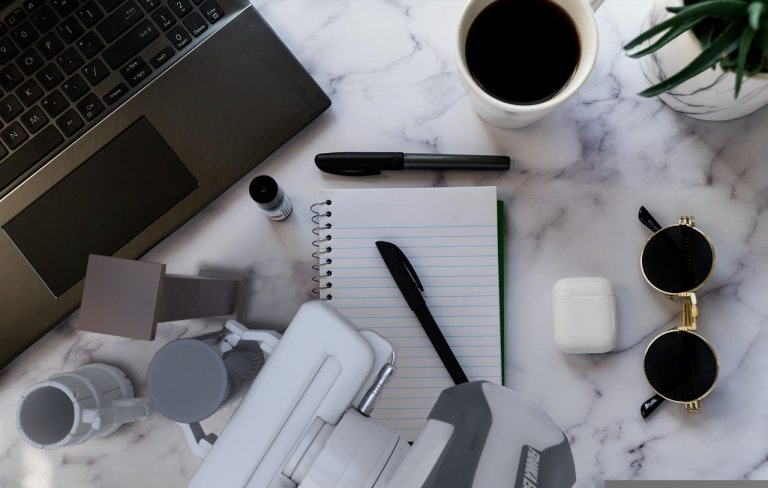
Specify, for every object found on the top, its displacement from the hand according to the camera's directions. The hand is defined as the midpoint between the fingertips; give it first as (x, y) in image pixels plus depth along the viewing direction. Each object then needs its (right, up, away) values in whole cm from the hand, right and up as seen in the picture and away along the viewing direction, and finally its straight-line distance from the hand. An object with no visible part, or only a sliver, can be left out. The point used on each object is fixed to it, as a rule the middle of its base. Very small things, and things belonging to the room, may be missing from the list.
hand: (199, 367), depth 53 cm
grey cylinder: (+1, -1, +5) cm, 6 cm away
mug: (-13, -6, +16) cm, 21 cm away
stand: (-2, +5, +15) cm, 16 cm away
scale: (+2, -2, +14) cm, 15 cm away
